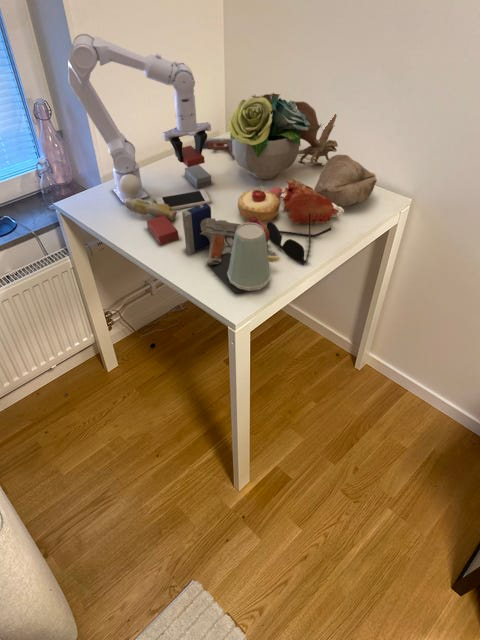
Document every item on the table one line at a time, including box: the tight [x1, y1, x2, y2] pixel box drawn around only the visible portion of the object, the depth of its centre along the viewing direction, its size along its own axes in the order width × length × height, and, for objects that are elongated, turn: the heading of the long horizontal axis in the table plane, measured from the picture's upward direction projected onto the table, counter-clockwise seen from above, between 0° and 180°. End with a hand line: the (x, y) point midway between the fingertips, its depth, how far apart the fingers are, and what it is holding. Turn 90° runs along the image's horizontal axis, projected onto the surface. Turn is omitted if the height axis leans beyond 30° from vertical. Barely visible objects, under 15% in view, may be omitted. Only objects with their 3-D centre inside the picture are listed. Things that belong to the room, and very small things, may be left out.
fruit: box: [245, 217, 270, 245], centre depth 126 cm, size 8×8×10 cm
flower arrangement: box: [228, 91, 310, 180], centre depth 151 cm, size 25×25×24 cm
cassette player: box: [181, 203, 212, 255], centre depth 126 cm, size 7×2×12 cm, turn 125°
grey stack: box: [184, 164, 213, 189], centre depth 157 cm, size 9×5×3 cm, turn 30°
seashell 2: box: [313, 154, 378, 207], centre depth 144 cm, size 16×17×15 cm
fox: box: [268, 254, 282, 263], centre depth 121 cm, size 12×9×2 cm
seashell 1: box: [282, 177, 338, 225], centre depth 133 cm, size 17×11×15 cm
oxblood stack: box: [146, 215, 180, 246], centre depth 134 cm, size 9×6×3 cm, turn 30°
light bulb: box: [120, 174, 140, 199], centre depth 142 cm, size 6×6×10 cm
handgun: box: [203, 137, 235, 159], centre depth 171 cm, size 3×19×12 cm
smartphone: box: [155, 189, 211, 211], centre depth 147 cm, size 7×15×1 cm, turn 109°
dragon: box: [294, 101, 339, 166], centre depth 160 cm, size 17×25×19 cm
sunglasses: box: [266, 213, 332, 265], centre depth 130 cm, size 17×14×5 cm
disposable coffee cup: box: [227, 221, 272, 292], centre depth 114 cm, size 11×11×15 cm
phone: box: [207, 251, 247, 295], centre depth 122 cm, size 7×1×15 cm
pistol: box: [200, 217, 242, 266], centre depth 128 cm, size 19×2×12 cm
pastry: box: [237, 183, 281, 224], centre depth 139 cm, size 12×12×9 cm
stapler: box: [331, 203, 345, 219], centre depth 139 cm, size 13×5×2 cm
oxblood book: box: [174, 145, 206, 168], centre depth 146 cm, size 9×6×2 cm, turn 30°
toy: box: [267, 244, 278, 257], centre depth 129 cm, size 1×8×2 cm
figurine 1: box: [124, 198, 178, 222], centre depth 140 cm, size 5×5×15 cm
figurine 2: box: [267, 186, 289, 213], centre depth 145 cm, size 12×3×7 cm
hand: (189, 158), depth 146 cm, fingers closed on oxblood book, 5 cm apart
